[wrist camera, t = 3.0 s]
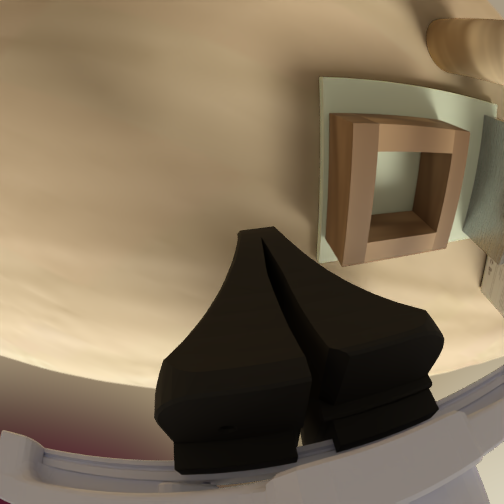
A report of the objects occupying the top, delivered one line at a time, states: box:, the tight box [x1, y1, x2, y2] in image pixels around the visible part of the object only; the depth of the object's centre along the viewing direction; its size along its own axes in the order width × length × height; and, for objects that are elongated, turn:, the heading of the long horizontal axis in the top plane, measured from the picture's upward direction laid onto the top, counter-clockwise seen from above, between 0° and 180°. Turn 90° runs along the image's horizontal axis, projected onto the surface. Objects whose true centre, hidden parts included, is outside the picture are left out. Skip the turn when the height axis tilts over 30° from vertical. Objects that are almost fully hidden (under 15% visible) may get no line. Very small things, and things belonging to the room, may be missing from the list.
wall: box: [462, 115, 504, 266], centre depth 16 cm, size 2×10×5 cm, turn 4°
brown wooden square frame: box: [325, 113, 470, 267], centre depth 16 cm, size 8×8×3 cm
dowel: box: [426, 18, 504, 85], centre depth 9 cm, size 4×4×8 cm
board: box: [316, 77, 497, 263], centre depth 18 cm, size 15×12×1 cm
